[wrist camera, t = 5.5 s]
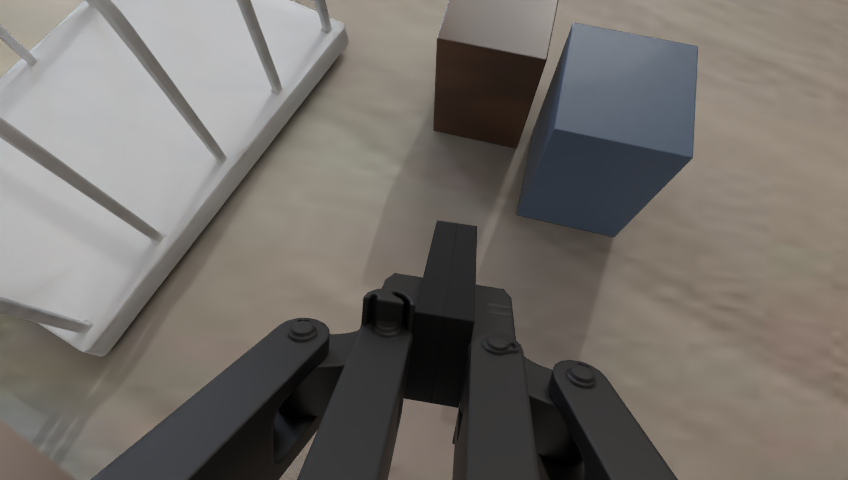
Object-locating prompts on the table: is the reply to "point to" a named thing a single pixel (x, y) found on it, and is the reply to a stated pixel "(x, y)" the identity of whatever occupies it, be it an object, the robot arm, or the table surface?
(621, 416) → the robot arm
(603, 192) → the slate-blue block
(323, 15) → the file sorter
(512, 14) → the walnut block
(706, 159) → the table surface
